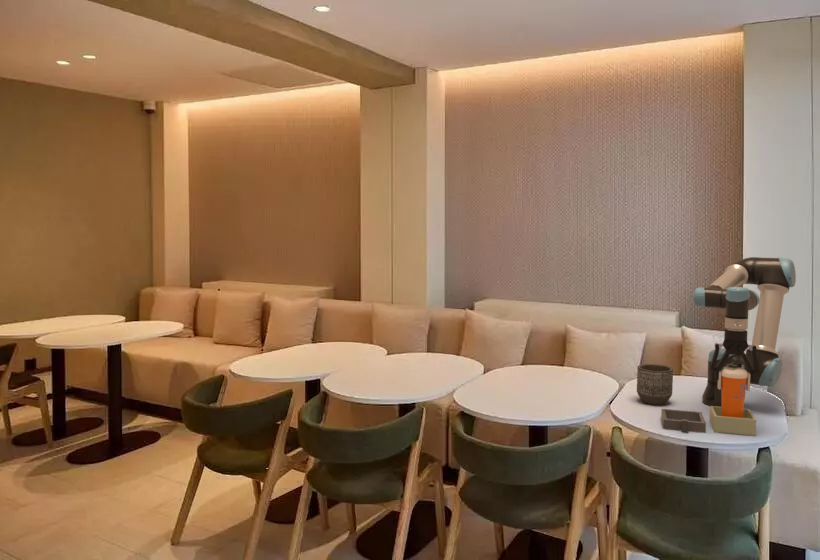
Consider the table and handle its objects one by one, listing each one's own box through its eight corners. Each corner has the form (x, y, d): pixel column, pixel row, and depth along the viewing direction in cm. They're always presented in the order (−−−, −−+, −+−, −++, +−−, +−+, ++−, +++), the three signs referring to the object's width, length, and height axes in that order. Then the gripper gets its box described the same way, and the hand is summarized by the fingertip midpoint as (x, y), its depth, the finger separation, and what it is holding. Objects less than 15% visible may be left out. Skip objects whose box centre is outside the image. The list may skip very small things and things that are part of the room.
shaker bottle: (715, 417, 239) (717, 364, 237) (723, 411, 245) (726, 360, 243) (740, 422, 233) (743, 368, 231) (749, 417, 239) (751, 364, 237)
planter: (672, 399, 278) (674, 365, 276) (671, 408, 265) (672, 372, 263) (638, 395, 284) (639, 362, 282) (634, 404, 271) (635, 369, 269)
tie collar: (661, 417, 253) (661, 406, 253) (701, 420, 249) (701, 409, 248) (663, 430, 237) (663, 419, 237) (706, 434, 233) (706, 422, 232)
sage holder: (709, 421, 248) (710, 405, 248) (748, 424, 244) (749, 409, 243) (714, 432, 235) (714, 416, 235) (755, 436, 231) (756, 419, 230)
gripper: (705, 329, 236) (702, 389, 238) (771, 332, 229) (768, 394, 231) (702, 326, 243) (700, 384, 245) (767, 329, 236) (764, 389, 238)
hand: (733, 389), depth 238 cm, fingers closed on shaker bottle, 9 cm apart
